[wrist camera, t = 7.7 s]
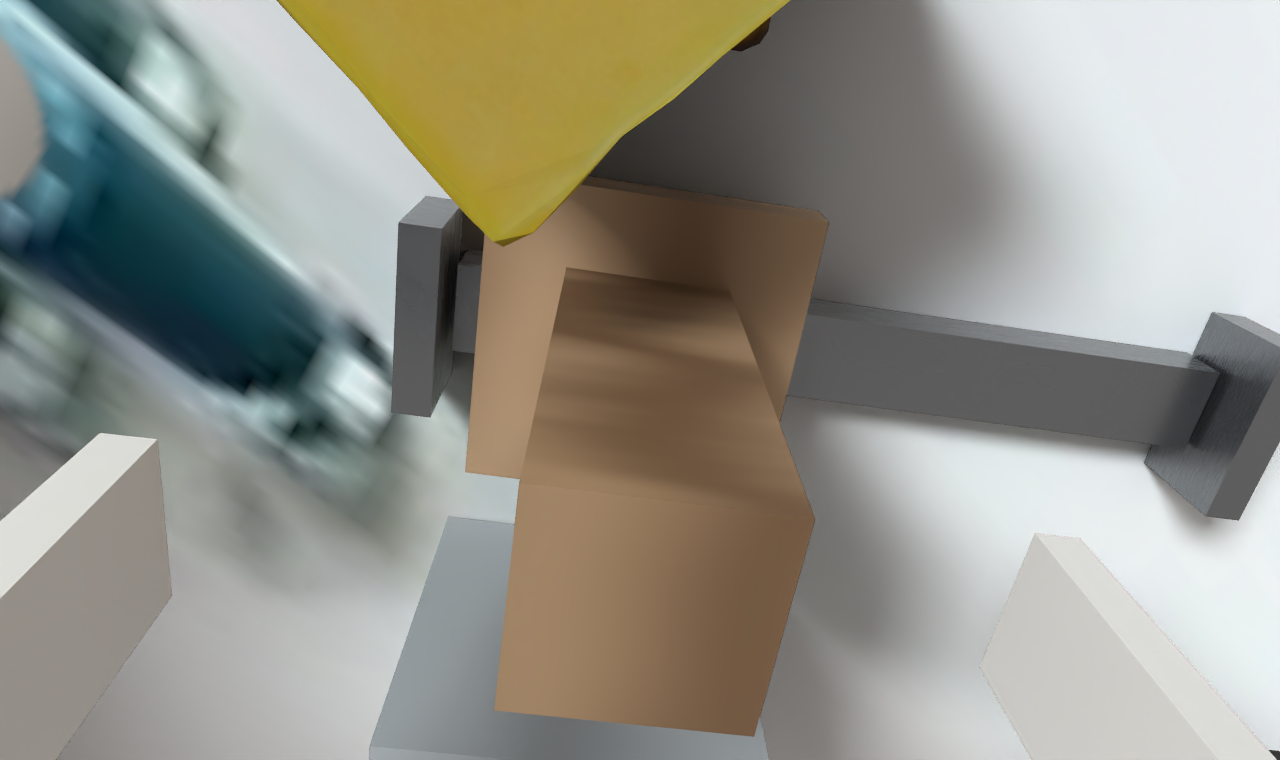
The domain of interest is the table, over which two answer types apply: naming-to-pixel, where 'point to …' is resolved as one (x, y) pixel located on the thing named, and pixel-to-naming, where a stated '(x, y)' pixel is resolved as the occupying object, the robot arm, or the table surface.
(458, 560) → the housing
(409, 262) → the rail
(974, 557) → the table surface
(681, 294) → the carriage
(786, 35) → the table surface
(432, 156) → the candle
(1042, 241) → the table surface
